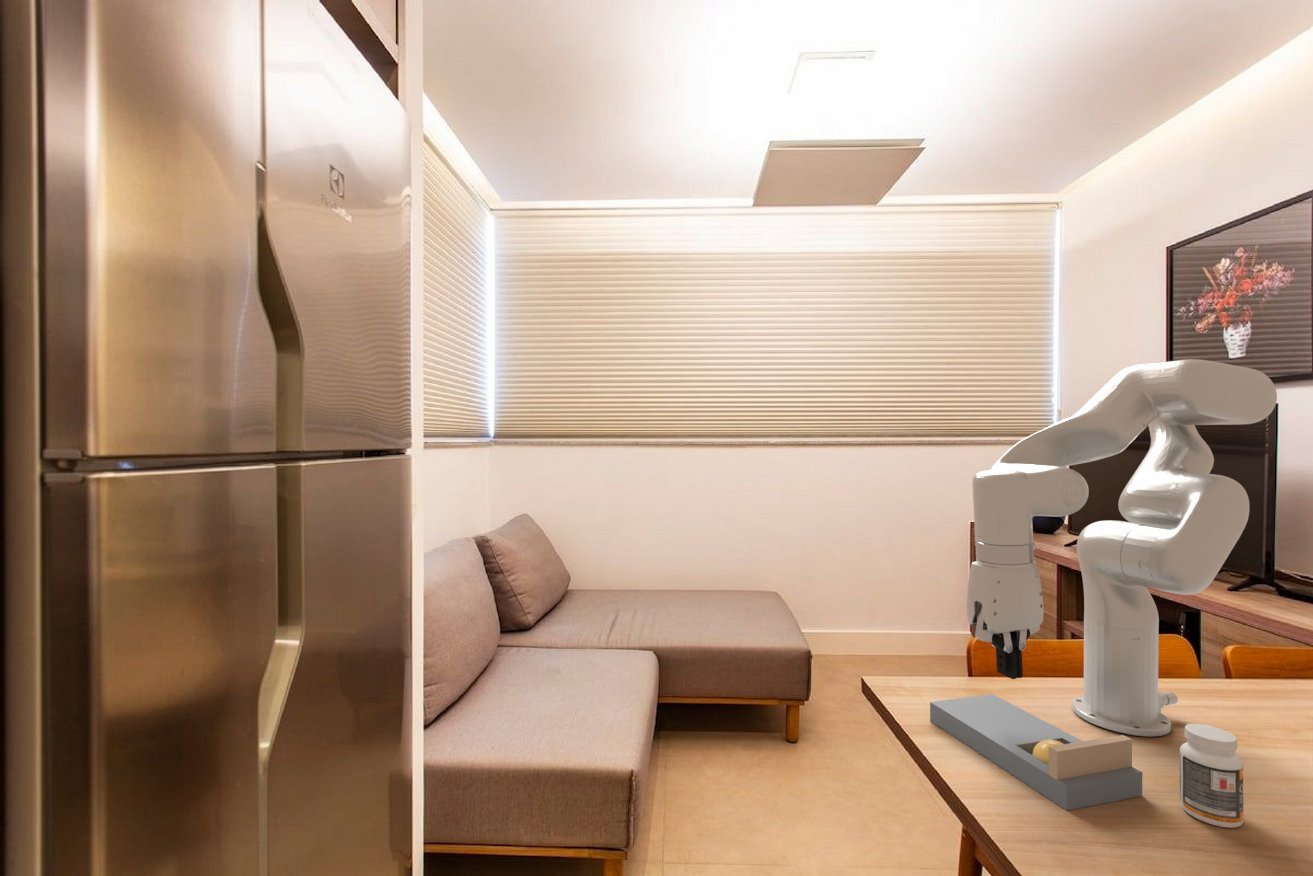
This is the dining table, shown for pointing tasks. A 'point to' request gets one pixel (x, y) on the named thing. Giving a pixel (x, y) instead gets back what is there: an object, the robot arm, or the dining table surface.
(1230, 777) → the pill bottle
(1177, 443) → the robot arm
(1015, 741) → the board
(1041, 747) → the ball
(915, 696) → the dining table surface
